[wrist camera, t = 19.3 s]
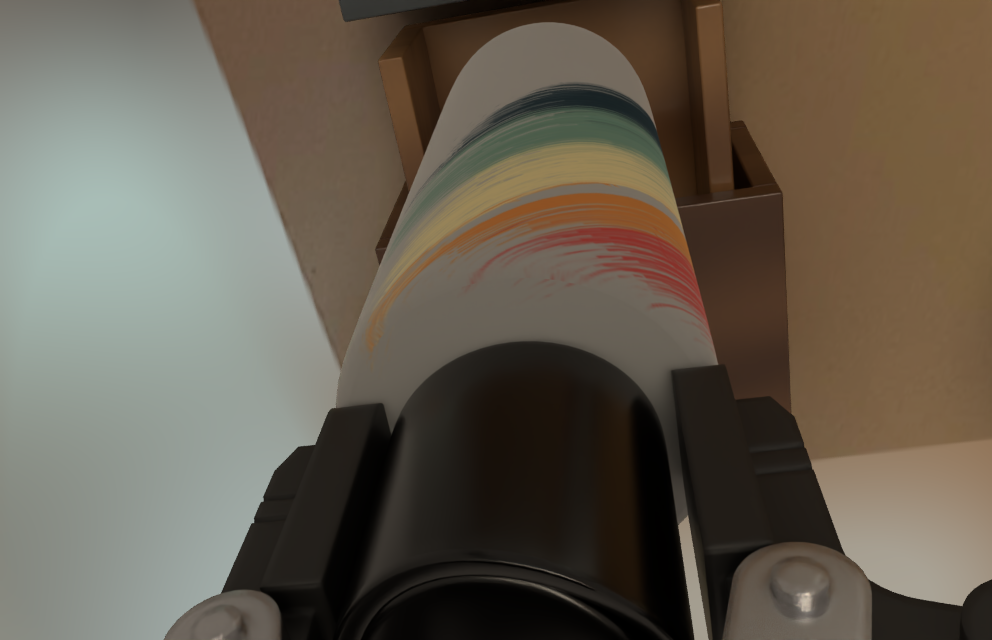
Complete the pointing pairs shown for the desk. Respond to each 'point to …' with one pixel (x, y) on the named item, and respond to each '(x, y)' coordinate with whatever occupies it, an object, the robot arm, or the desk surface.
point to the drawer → (613, 16)
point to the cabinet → (731, 271)
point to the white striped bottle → (530, 364)
